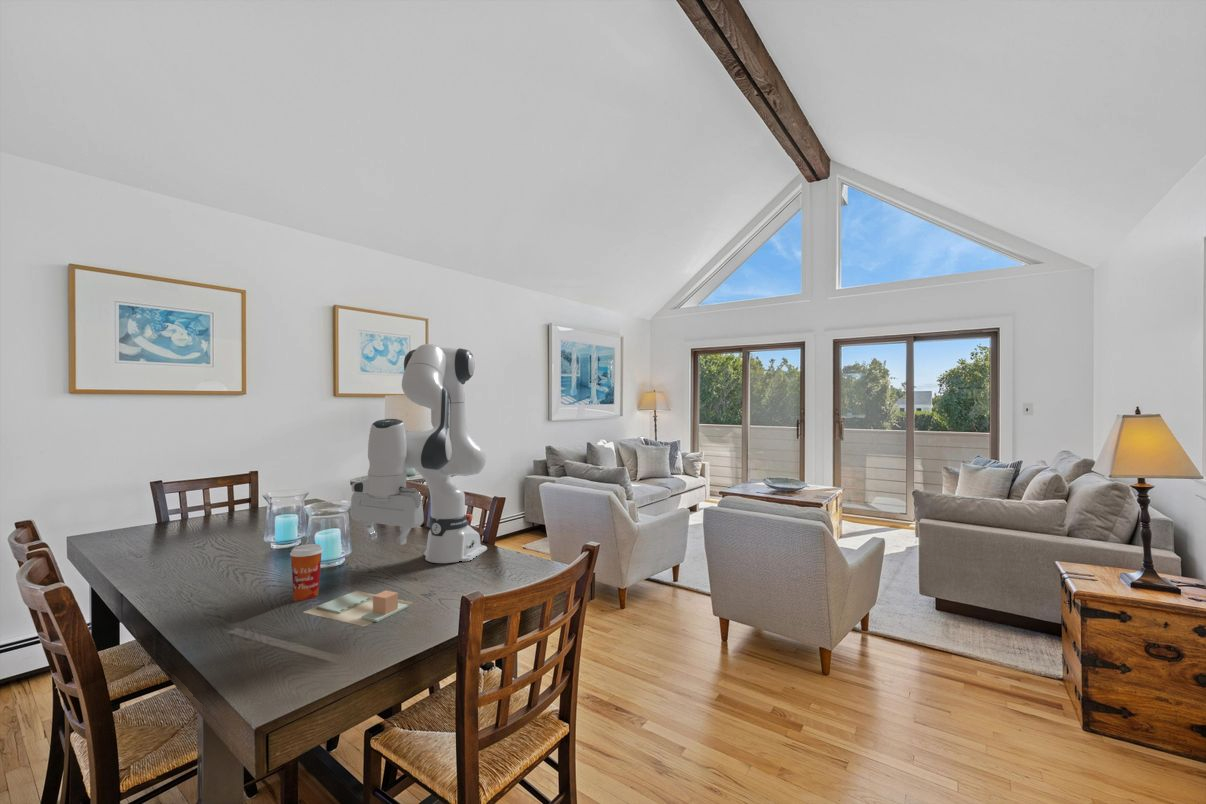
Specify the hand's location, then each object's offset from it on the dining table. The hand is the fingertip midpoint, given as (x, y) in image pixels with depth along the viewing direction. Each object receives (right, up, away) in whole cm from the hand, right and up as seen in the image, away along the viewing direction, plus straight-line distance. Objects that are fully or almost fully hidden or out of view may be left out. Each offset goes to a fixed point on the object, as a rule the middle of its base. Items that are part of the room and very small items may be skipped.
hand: (386, 541), depth 129 cm
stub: (0, -18, 0) cm, 18 cm away
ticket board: (-8, -19, +3) cm, 21 cm away
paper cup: (-26, -19, +10) cm, 33 cm away
